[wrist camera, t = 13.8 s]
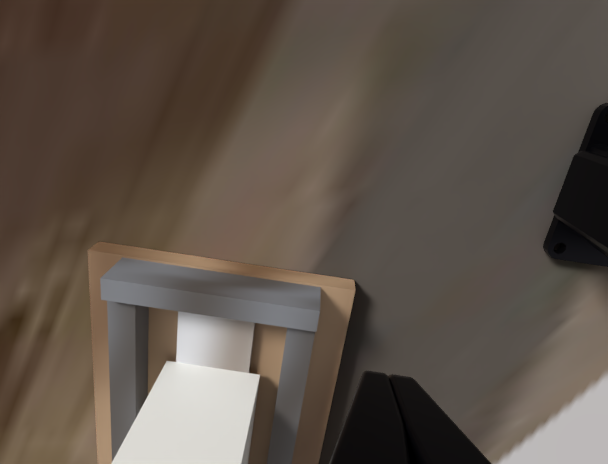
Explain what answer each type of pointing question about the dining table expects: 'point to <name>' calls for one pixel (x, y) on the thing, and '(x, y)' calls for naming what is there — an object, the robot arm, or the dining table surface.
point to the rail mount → (217, 340)
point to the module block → (193, 418)
